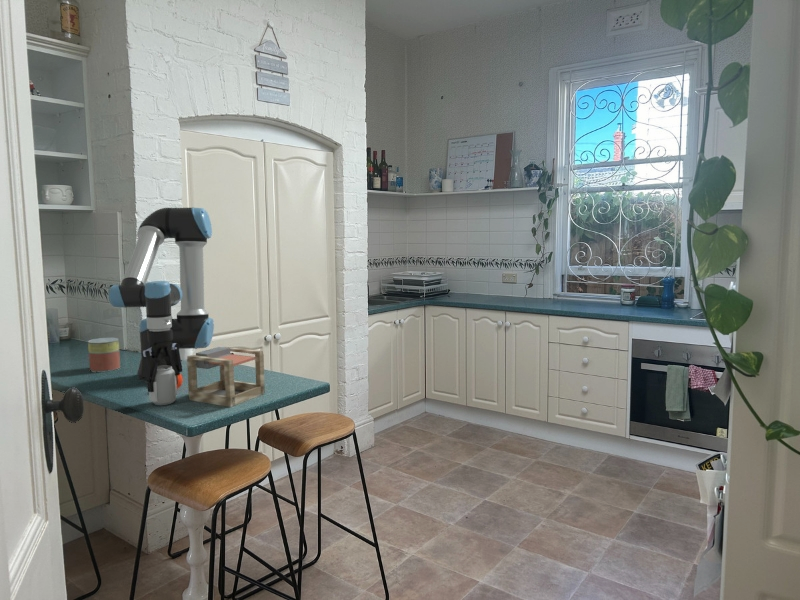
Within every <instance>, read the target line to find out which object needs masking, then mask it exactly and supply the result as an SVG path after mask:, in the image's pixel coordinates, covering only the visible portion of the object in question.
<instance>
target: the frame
mask: <svg viewBox="0 0 800 600" xmlns="http://www.w3.org/2000/svg"><path fill="white" fill-rule="evenodd" d="M224 347H225V348H230V353H240V354H241V353H242V354H249V355H250V354H251V355H255V356H254V357H256V359H255V360H254V361H255V362H254V363H255V383H253V382H246V381H239V380H235V372H234V371H235V369H234V367H235V366H234V365H233V360H228V359H220V358H212V357H204V356H196V354H195V355H194V354H193V355H189V356H187V360H186V364H187V368H186V370H187V385H188V387H187V389H188V400H189V401H192V402H193V401H194V402H199V403H206V404H211V405H216V406H221V407H229V408H232V407H234V406H238V405H239V404H242V403H244V402H247V401H249V400H253V399H254V398H257V397H259V396H262V395H265V394H266V393H265V392H266V390H265V362H264V361H265V358H264V356H265V355H264V351H263V350H258V349H257V350H255V349H247V348H240V347H229V346H224ZM196 360H201V361H208V362H216V363H224V365H220V366H219V375H220V376H219V377H220V380H218V381H216V382H212V383H208V384H206V385H203V386H200V387H198V374H197V373H198V371H197V368H196ZM264 393H265V394H264Z"/></svg>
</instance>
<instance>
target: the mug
mask: <svg viewBox="0 0 800 600" xmlns="http://www.w3.org/2000/svg"><path fill="white" fill-rule="evenodd" d="M196 350H197V349H195V348H191V349H179V353H180V359H181V360H182V361H181V362H184V361H183V360H185V361H187V356H189V355H194V353H195V352H196Z"/></svg>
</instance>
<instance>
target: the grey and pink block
mask: <svg viewBox="0 0 800 600" xmlns="http://www.w3.org/2000/svg"><path fill="white" fill-rule="evenodd" d="M225 347H226V346H218V347H214V348H210V349H207V350H202V351H198V352H196V353H195V355H196V356H204V357H212V358H220V359H228V360H233V365H234V367H236V366H238V365H243V364H245V363H248V362H251V361H255V359H256V357H255V356H251V355H241V354H234V353H235V352H231V351H230V348H225ZM220 365H224V363H216V362H208V361H201V360H196V368H198V369H203V370H209V369H213V368H216V367H220Z"/></svg>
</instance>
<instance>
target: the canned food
mask: <svg viewBox="0 0 800 600" xmlns="http://www.w3.org/2000/svg"><path fill="white" fill-rule="evenodd" d="M119 341H120V339H119V338H118V337H99V338H92V339H90V340H89V339H88V340H87V348H88V349H87V350H88V361H89V371H90V370H91V371H108V370H114V369H118V368H120V367H121V358H120V342H119ZM120 369H121V368H120ZM118 370H119V369H118Z"/></svg>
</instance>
